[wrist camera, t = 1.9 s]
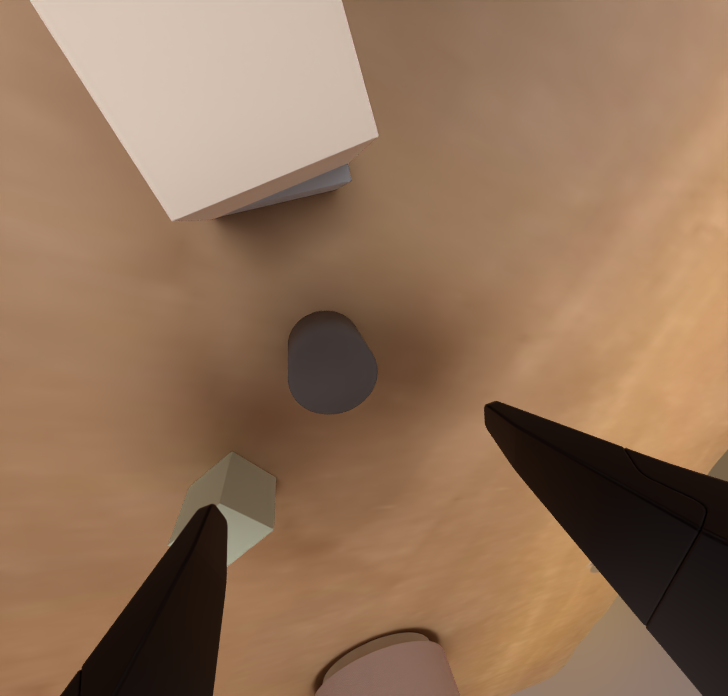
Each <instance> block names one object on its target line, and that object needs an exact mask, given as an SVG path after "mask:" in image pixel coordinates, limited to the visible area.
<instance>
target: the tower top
mask: <svg viewBox="0 0 728 696" xmlns="http://www.w3.org/2000/svg"><path fill="white" fill-rule="evenodd" d="M30 2H31V3H32V5H33V6H34V8H35V9H36V11H37V12H38V14H39V16H40V17H41V19H42V20H43V22H44V23H45V25H46V26H47V28H48V30H49V31H50V33H51V34H52V36H53V37H54V39H55V40H56V42H57V44H58V45H59V47H60V48H61V50H62V51H63V53H64V54H65V56H66V58H67V59H68V61H69V62H70V64H71V65H72V67H73V68H74V70H75V72H76V73H77V75H78V76H79V78H80V79H81V81H82V82H83V84H84V85H85V87H86V89H87V90H88V92H89V93H90V95H91V96H92V98H93V99H94V101H95V103H96V104H97V106H98V107H99V109H100V110H101V112H102V113H103V115H104V117H105V118H106V120H107V121H108V123H109V124H110V126H111V127H112V129H113V131H114V132H115V134H116V135H117V137H118V138H119V140H120V141H121V143H122V145H123V146H124V148H125V149H126V151H127V152H128V154H129V155H130V157H131V159H132V160H133V162H134V163H135V165H136V166H137V168H138V169H139V171H140V173H141V174H142V176H143V177H144V179H145V180H146V182H147V183H148V185H149V187H150V188H151V190H152V191H153V193H154V194H155V196H156V197H157V199H158V201H159V202H160V204H161V205H162V207H163V208H164V210H165V211H166V213H167V215H168V216H169V218H170V219H171V221H194V220H213V219H215V218H218V217H220V216H222V215H225V214H227V213H230V212H232V211H234V210H237V209H239V208H242V207H244V206H246V205H249V204H251V203H254V202H256V201H259V200H261V199H263V198H266V197H268V196H271V195H273V194H275V193H278V192H280V191H283V190H285V189H287V188H290V187H292V186H295V185H297V184H300V183H302V182H304V181H307V180H309V179H312V178H314V177H316V176H319V175H321V174H324V173H326V172H328V171H331V170H333V169H336V168H338V167H341V166H343V165H345V164H348V163H349V162H350V161H351V160H353V159H354V158H355V157H356V156H357V155H358V154H359V153H360V152H362V151H363V150H364V149H365V148H366V147H367V146H368V145H369V144H371V143H372V142H373V141H374V140H375V139H376V138H377V137H378V136H379V135H378V131H377V128H376V124H375V120H374V117H373V113H372V109H371V106H370V102H369V98H368V95H367V91H366V88H365V84H364V80H363V77H362V73H361V69H360V66H359V62H358V58H357V55H356V51H355V47H354V44H353V40H352V36H351V33H350V29H349V25H348V22H347V18H346V14H345V11H344V7H343V4H342V0H30Z"/></svg>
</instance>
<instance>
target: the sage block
mask: <svg viewBox="0 0 728 696" xmlns="http://www.w3.org/2000/svg"><path fill="white" fill-rule="evenodd" d="M275 497H276V477H274V476H273V475H271V474H269V473H268V472H266V471H264V470H263V469H261V468H259V467H258V466H256V465H254V464H253V463H251V462H249V461H248V460H246V459H244V458H243V457H241V456H239V455H238V454H236V453H234V452H233V451H231V452H230V453H229V454H228V455H227V456H225V457H224V458H223V459H222V460H221V461H219V462H218V463H217V464H216V465H215V466H213V467H212V468H211V469H210V470H209V471H208V472H206V473H205V474H204V475H203V476H202V477H200V478H199V479H198V480H197V481H196V482H194V483H193V484H192V485H191V486H190V487H189V489H188V492H187V494H186V497H185V500H184V503H183V505H182V508H181V511H180V514H179V516H178V519H177V522H176V524H175V527H174V530H173V533H172V535H171V538H170V541H169V544H168V546H171V545H172V544H173V542H174V541H175V539H176V538H177V537H178V535H179V534H180V533H181V531H182V530H183V529H184V527H185V526H186V525H187V523H188V522H189V520H190V519H191V518H192V516H193V515H194V514H195V512H196V511H197V510H198V509H199V508H201V507H204V506H206V505H209V504H215V505H216V506H217V508H218V509H219V510H220V511H221V513H222V514H223V515H224V517H225V518H226V520H227V524H228V540H227V566H229V565H230V564H231V563H232V562H234V561H235V560H236V559H237V558H239V557H240V556H241V555H243V554H244V553H245V552H246V551H248V550H249V549H250V548H251V547H253V546H254V545H255V544H256V543H258V542H259V541H260V540H261V539H263V538H264V537H265V536H267V535H268V534H269V533H270V532H272V531H273V530H274V521H275Z"/></svg>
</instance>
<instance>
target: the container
mask: <svg viewBox="0 0 728 696" xmlns="http://www.w3.org/2000/svg"><path fill="white" fill-rule="evenodd" d="M315 696H460V693H459V691H458V688H457V685H456V682H455V680H454V677H453V674H452V671H451V668H450V666H449V663H448V660H447V657H446V655H445V652H444V649H443V648H442V646H440V645H439V644H437V643H435V642H431V641H429V639H428V638H427V637H426V636H424V635H422V634H419V633H412V632H407V633H398V634H392V635H388V636H385V637H381V638H378V639H376V640H373V641H371V642H368V643H366V644H364V645H362V646H360V647H358V648H356V649H354V650H352V651H351V652H349V653H348V654H346V655H345V656H343V657H342V658H341V659H339V660H338V661H337V662H336V663H335V664H334V665H333V666H332V667H331V668H330V669H329V670H328V672H327V673H326V675H325V677H324V679H323V684H322V686H321V687H320V688H319V689H318V691H317V692H316V694H315Z"/></svg>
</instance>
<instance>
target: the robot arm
mask: <svg viewBox="0 0 728 696" xmlns="http://www.w3.org/2000/svg"><path fill="white" fill-rule="evenodd" d="M484 418H485V426H486V428H487V430H488V431H489V433H490V434H491V436H492V437H493V439H494V440H495V442H496V443H497V445H498V446H499V448H500V449H501V451H502V452H503V454H504V455H505V457H506V458H507V459H508V461H509V462H510V464H511V465H512V467H513V468H514V469H515V471H516V472H517V473H518V474H519V476H520V477H521V478H522V479H523V480H524V482H525V483H526V484H527V485H528V486H529V488H530V489H531V490H532V491H533V492H534V494H535V495H536V496H537V497H538V498H539V500H540V501H541V502H542V503H543V504H544V506H545V507H546V508H547V509H548V510H549V512H550V513H551V514H552V515H553V516H554V518H555V519H556V520H557V521H558V522H559V524H560V525H561V526H562V527H563V528H564V530H565V531H566V532H567V533H568V534H569V536H570V537H571V538H572V539H573V540H574V542H575V543H576V544H577V545H578V546H579V548H580V549H581V550H582V551H583V552H584V554H585V555H586V556H587V557H588V558H589V560H590V561H591V562H592V563H593V564H594V566H595V567H596V568H597V569H598V570H599V572H600V573H601V574H602V575H603V576H604V578H605V579H606V580H607V581H608V582H609V584H610V585H611V586H612V587H613V588H614V590H615V591H616V592H617V593H618V594H619V596H620V597H621V598H622V599H623V600H624V602H625V603H626V604H627V605H628V606H629V607H630V609H631V610H632V611H633V612H634V614H635V615H636V616H637V617H638V618H639V620H640V621H641V622H642V623H643V624H644V625H646V628H647V630H648V631H649V632H650V633H651V634H652V636H653V637H654V638H655V639H656V640H657V641H658V643H659V644H660V645H661V646H662V647H663V649H664V650H665V651H666V652H667V654H668V655H669V656H670V657H671V658H672V660H673V661H674V662H675V663H676V664H677V666H678V667H679V668H680V669H681V670H682V672H683V673H684V674H685V675H686V676H687V678H688V679H689V680H690V681H691V682H692V683H693V685H694V686H695V687H696V688H697V689H698V691H699V692H700V693H701V694H702V696H728V482H727V481H724V480H721V479H718V478H714V477H711V476H708V475H705V474H701V473H698V472H695V471H692V470H689V469H686V468H682V467H679V466H676V465H673V464H670V463H667V462H664V461H661V460H658V459H655V458H653V457H650V456H647V455H644V454H641V453H638V452H636V451H633V450H630V449H627V448H623V447H622V446H619V445H616V444H614V443H611V442H608V441H605V440H603V439H600V438H597V437H594V436H592V435H589V434H586V433H583V432H581V431H578V430H575V429H572V428H570V427H567V426H564V425H562V424H559V423H556V422H553V421H551V420H548V419H545V418H542V417H540V416H537V415H534V414H531V413H529V412H526V411H523V410H520V409H518V408H515V407H512V406H509V405H507V404H504V403H501V402H498V401H494V402H491V403H488V404H486V405H485V407H484ZM227 540H228V524H227V520H226V518H225V517H224V515H223V514H222V513H221V511H220V510H219V509H218V508H217V506H216V505H215V504H209V505H206V506H204V507H201V508H199V509H198V510H197V511H196V512H195V514H194V515H193V516H192V518H191V519H190V520H189V522H188V523H187V525H186V526H185V527H184V529H183V530H182V531H181V533H180V534H179V535H178V537H177V538H176V539H175V541H174V542H173V544H172V545H171V546H170V548H169V549H168V550H167V552H166V553H165V554H164V556H163V557H162V558H161V560H160V561H159V562H158V564H157V565H156V567H155V568H154V569H153V571H152V572H151V573H150V575H149V576H148V577H147V579H146V580H145V581H144V583H143V584H142V586H141V587H140V588H139V590H138V591H137V592H136V594H135V595H134V596H133V598H132V599H131V600H130V602H129V603H128V605H127V606H126V607H125V609H124V610H123V611H122V613H121V614H120V615H119V617H118V618H117V619H116V621H115V622H114V623H113V625H112V626H111V628H110V629H109V630H108V632H107V633H106V634H105V636H104V637H103V638H102V640H101V641H100V642H99V644H98V645H97V647H96V648H95V649H94V651H93V652H92V653H91V655H90V656H89V657H88V659H87V660H86V661H85V663H84V664H83V666H82V670H79V671H78V672H77V673H76V675H75V676H74V678H73V679H72V680H71V682H70V683H69V684H68V686H67V687H66V688H65V690H64V691H63V692H62V694H61V695H60V696H213V690H214V682H215V674H216V665H217V657H218V649H219V641H220V632H221V624H222V616H223V608H224V600H225V591H226V579H227Z"/></svg>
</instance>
